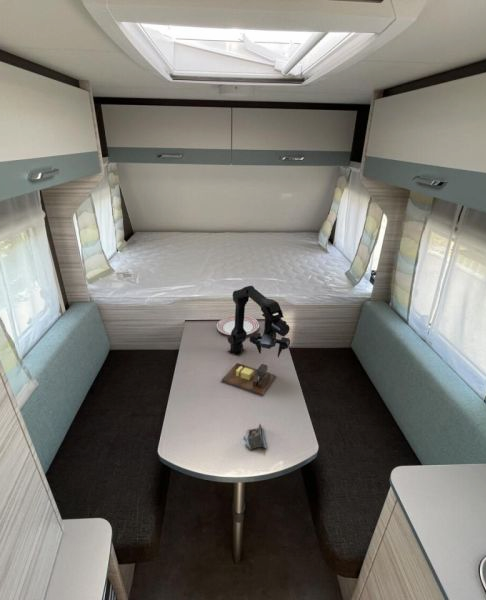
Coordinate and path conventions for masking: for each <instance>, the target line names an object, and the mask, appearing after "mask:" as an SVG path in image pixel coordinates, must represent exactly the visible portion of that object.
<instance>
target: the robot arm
mask: <svg viewBox="0 0 486 600" xmlns="http://www.w3.org/2000/svg"><path fill="white" fill-rule="evenodd" d="M250 299H251V300H252V301H253V302H254V303H256V305H258V306H259V307H260V311H261V312H262V314H261V316H262V317H263V318H264V323H263V325H264V326H263V334H262V333H260V332H256V331H255V332H253V333H251V335H249V343H251V344H253V345H255V346H256V348H257V350H258V353H259V354H261V353H262V349H267V350H270V349H272V348H273V347H274V348H275V347H276V345H277V344H278V351H277V358H279V357H280V355H281V353H282V351H283V350H287V349H288V348H289V346H290V344H291V339H290V338H289V337H285V336H287V335H288V334H289V333H290V329H291V327H290V325H289V324H288V323H287V321H286V320H283V319H282V318H284V317H285V316H284V312H283V311H282V308H281V306H280V304H279V302H278V301H276V300H275V299H272V298H268V297H266V296H265V295H264V294H262V293H261V292H260V291H258V290H257V289H256V288H255V287H254V285H247V286H244V287H243V288H241V289H237V290H236V289H235V290H234V291H233V292H232V302H233V303H234V304H235V309H234V310H235V311H234V316H235V327H234V329H233V330H232V332H231V335H229V337H228V338H227V342H228V344H230V346H229V347H230V350H228V353H230V354H234V355H236V356H240V355H241V354H242V352H244V344H243V343H244V342H246V339H247V338H248V337H247V336H248V335H247V332H246V331H245V330H244V328H243V327H244V316H245V313H246V312H245V311H246V310H245V309H246V305H247V303H248V302H249V300H250ZM277 334H278V335H279V336H281V338H280V339H279V338H277Z"/></svg>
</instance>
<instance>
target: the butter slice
mask: <svg viewBox="0 0 486 600" xmlns="http://www.w3.org/2000/svg"><path fill="white" fill-rule="evenodd" d="M242 370H243V367H242V366H240V367H239V368H238V369H237V370H236V376H238V377H239V375H240V374H241V371H242Z"/></svg>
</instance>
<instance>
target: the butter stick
mask: <svg viewBox="0 0 486 600" xmlns="http://www.w3.org/2000/svg"><path fill="white" fill-rule="evenodd" d="M253 375H254V370H251V369H248V368H244V369H243V370H242V371H241V378H244V379H247V380H250V379H251V378H252V377H253Z"/></svg>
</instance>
